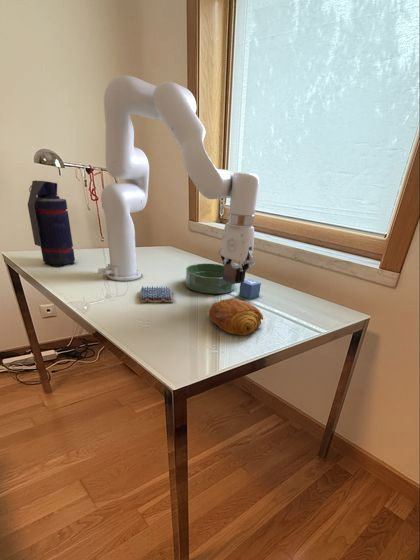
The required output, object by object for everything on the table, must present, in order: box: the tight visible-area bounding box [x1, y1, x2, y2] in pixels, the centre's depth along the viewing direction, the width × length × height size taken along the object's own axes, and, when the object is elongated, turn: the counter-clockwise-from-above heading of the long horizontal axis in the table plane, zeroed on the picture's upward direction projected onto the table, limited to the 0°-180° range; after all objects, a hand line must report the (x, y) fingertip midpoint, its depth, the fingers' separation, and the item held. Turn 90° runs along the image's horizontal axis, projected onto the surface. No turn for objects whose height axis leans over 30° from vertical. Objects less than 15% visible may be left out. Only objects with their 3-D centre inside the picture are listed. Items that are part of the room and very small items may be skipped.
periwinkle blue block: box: [238, 278, 262, 300], centre depth 111 cm, size 5×5×5 cm
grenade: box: [27, 180, 76, 268], centre depth 123 cm, size 14×12×30 cm
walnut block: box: [223, 262, 239, 285], centre depth 102 cm, size 5×5×5 cm
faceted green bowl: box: [185, 262, 236, 295], centre depth 117 cm, size 18×18×6 cm
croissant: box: [208, 297, 264, 336], centre depth 89 cm, size 14×16×8 cm
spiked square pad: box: [139, 285, 174, 303], centre depth 105 cm, size 10×11×2 cm
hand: (233, 279), depth 103 cm, fingers closed on walnut block, 5 cm apart
